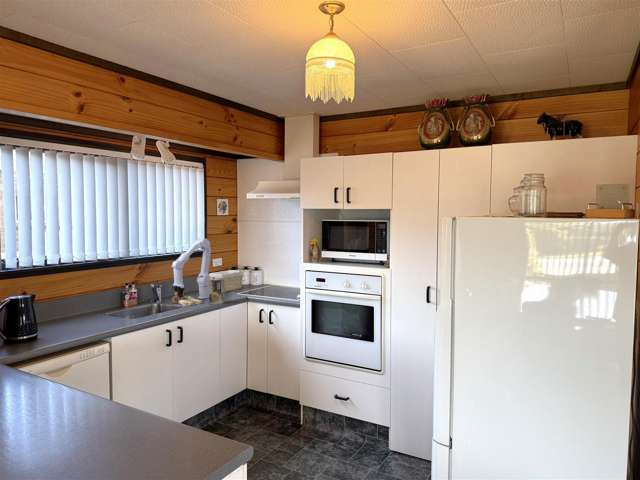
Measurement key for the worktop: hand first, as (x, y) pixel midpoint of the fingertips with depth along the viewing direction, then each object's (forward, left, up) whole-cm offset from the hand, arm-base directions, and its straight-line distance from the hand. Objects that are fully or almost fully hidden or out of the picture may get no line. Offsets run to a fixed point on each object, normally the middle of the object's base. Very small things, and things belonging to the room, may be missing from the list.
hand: (179, 296), depth 318 cm
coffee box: (-18, +23, -4) cm, 30 cm away
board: (-4, +5, -4) cm, 7 cm away
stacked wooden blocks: (-1, 0, -4) cm, 4 cm away
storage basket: (-47, -20, -4) cm, 51 cm away
